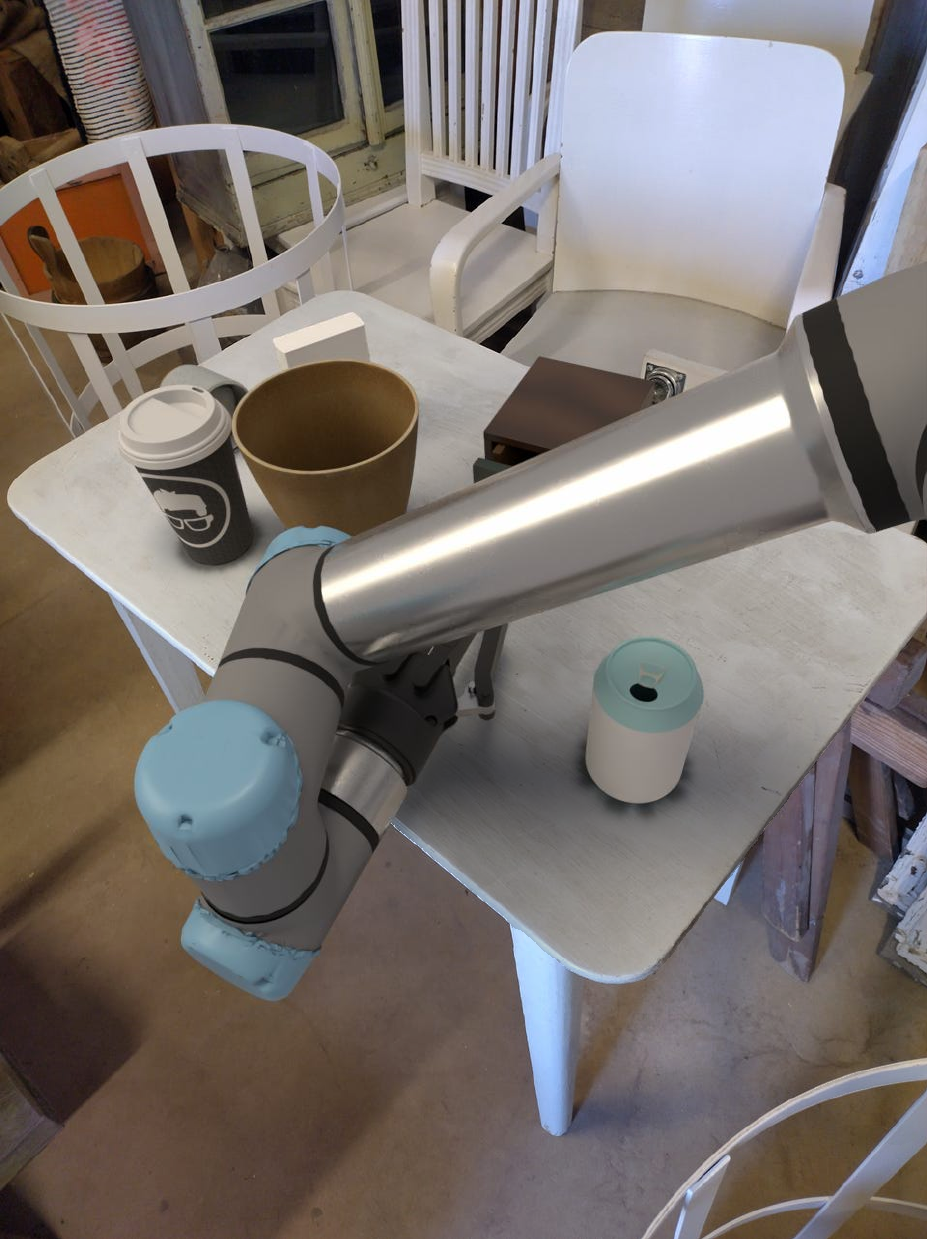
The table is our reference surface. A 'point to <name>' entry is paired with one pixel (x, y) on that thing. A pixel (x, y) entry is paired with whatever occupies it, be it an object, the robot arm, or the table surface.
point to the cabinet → (563, 405)
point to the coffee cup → (189, 468)
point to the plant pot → (331, 443)
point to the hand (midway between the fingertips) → (505, 534)
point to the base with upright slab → (324, 342)
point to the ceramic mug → (209, 386)
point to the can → (642, 718)
